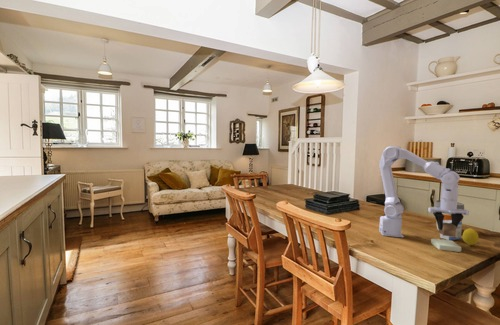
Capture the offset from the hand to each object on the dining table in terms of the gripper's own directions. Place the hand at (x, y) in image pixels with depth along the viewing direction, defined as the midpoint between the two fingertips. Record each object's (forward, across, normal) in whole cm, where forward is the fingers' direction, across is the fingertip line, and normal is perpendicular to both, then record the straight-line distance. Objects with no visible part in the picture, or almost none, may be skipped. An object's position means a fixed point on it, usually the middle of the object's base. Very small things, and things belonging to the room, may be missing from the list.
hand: (446, 229), depth 112 cm
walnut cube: (+2, 0, 0) cm, 2 cm away
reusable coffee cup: (+8, +13, +28) cm, 31 cm away
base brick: (+8, 0, 0) cm, 8 cm away
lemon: (+8, +12, +6) cm, 15 cm away
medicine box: (+8, +8, +14) cm, 18 cm away
